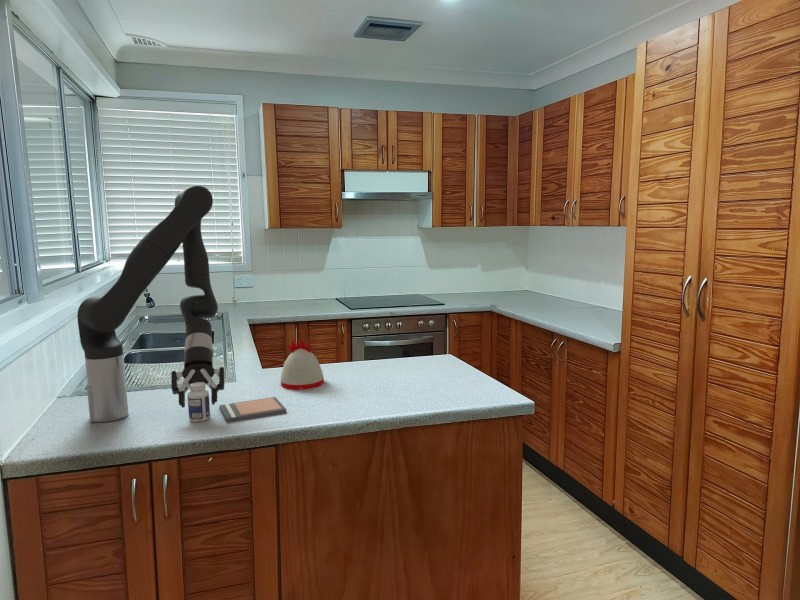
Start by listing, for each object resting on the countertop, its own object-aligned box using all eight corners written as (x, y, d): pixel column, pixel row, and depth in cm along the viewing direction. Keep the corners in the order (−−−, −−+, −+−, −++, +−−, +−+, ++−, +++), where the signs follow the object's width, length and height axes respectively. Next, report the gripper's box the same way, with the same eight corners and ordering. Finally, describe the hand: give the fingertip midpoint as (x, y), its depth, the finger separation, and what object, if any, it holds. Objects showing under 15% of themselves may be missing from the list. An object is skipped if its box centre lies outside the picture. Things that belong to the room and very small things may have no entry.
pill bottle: (203, 414, 154) (201, 380, 153) (214, 418, 151) (211, 383, 149) (185, 419, 150) (182, 384, 149) (196, 423, 147) (193, 387, 145)
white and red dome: (286, 378, 190) (284, 335, 188) (326, 378, 189) (325, 334, 187) (276, 390, 176) (273, 343, 174) (319, 389, 176) (317, 343, 174)
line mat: (226, 422, 147) (226, 418, 147) (219, 408, 159) (219, 404, 158) (286, 412, 154) (286, 408, 154) (275, 400, 165) (275, 396, 165)
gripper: (169, 347, 153) (167, 400, 143) (224, 343, 157) (225, 395, 147) (173, 361, 159) (171, 414, 149) (225, 357, 163) (227, 408, 153)
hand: (198, 404), depth 148 cm, fingers open, 7 cm apart
